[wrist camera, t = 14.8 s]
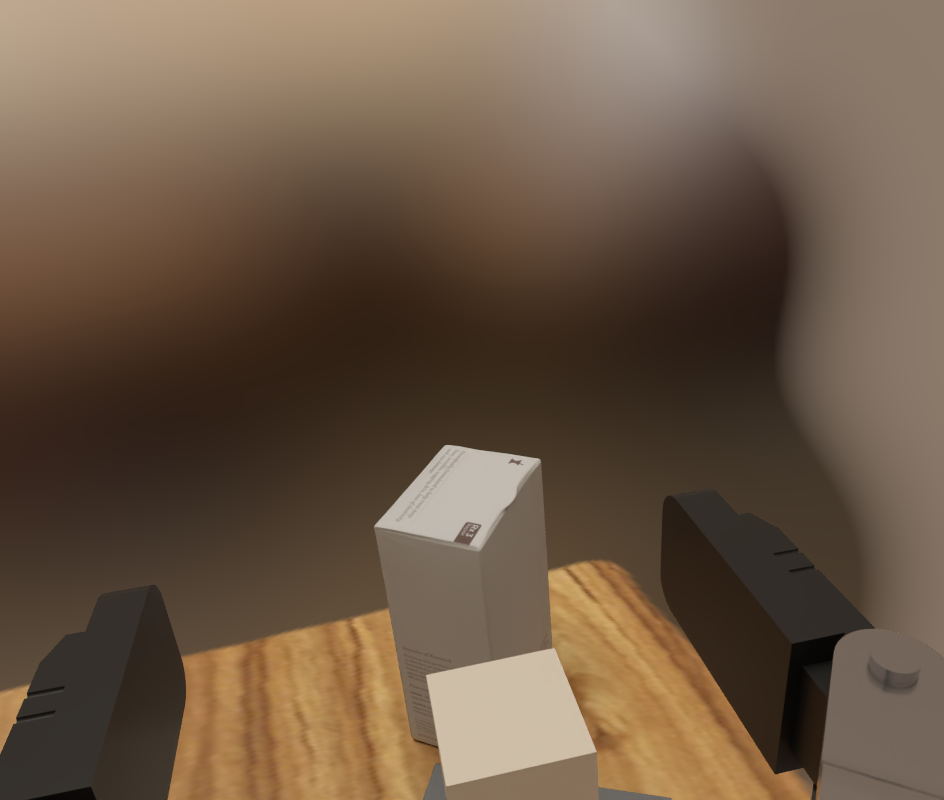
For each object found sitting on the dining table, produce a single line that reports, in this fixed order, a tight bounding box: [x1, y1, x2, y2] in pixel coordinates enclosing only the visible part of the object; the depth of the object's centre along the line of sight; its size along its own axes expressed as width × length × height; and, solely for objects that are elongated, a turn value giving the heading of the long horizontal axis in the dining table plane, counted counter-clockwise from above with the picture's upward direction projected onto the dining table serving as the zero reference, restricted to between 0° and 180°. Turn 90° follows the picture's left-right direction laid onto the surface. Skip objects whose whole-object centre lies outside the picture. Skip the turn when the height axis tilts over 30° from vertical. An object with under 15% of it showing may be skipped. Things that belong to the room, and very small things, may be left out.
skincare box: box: [374, 445, 552, 747], centre depth 42 cm, size 8×6×15 cm
